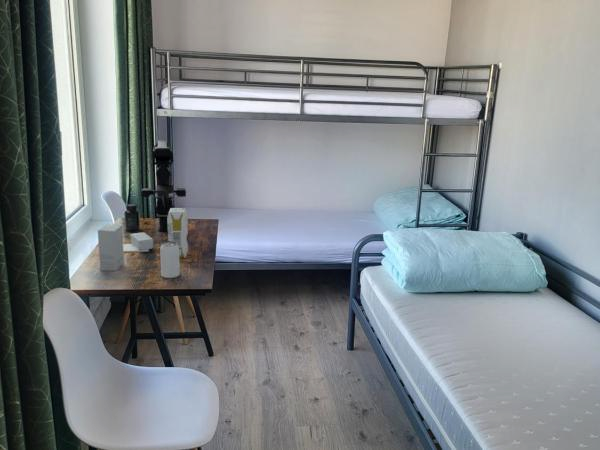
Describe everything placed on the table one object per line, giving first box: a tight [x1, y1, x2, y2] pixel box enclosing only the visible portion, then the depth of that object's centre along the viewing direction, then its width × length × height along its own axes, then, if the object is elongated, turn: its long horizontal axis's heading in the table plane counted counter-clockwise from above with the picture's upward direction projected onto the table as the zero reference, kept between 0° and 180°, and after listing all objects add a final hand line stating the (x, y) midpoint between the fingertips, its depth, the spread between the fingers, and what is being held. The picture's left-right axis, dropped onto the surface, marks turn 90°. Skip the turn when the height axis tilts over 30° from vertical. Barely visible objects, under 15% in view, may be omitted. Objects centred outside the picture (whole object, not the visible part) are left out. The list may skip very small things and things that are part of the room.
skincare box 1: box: [97, 223, 125, 272], centre depth 186 cm, size 8×7×16 cm
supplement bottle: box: [124, 203, 141, 232], centre depth 238 cm, size 7×7×12 cm
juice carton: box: [167, 207, 189, 259], centre depth 201 cm, size 8×9×19 cm
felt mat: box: [123, 243, 150, 253], centre depth 211 cm, size 10×12×1 cm
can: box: [159, 240, 181, 279], centre depth 180 cm, size 6×6×12 cm
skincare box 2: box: [130, 232, 154, 250], centre depth 212 cm, size 6×4×12 cm
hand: (164, 211), depth 222 cm, fingers closed
